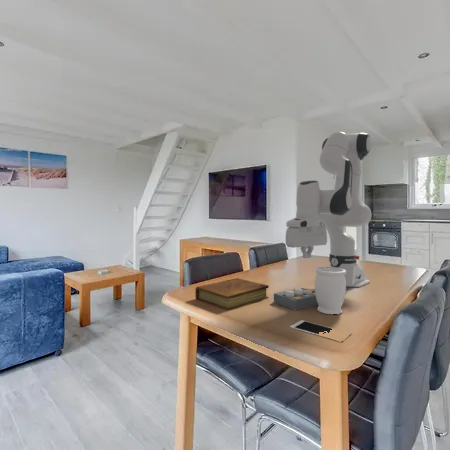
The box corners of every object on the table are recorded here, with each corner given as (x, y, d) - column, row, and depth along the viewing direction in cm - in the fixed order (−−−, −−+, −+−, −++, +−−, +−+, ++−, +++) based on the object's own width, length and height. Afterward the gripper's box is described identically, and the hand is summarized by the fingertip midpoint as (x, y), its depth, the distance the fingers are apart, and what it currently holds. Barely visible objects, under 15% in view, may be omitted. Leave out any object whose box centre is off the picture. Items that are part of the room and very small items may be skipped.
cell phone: (341, 344, 82) (341, 342, 82) (289, 328, 93) (289, 326, 93) (352, 335, 88) (352, 333, 88) (301, 321, 99) (301, 319, 99)
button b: (307, 297, 123) (307, 289, 122) (313, 298, 120) (313, 291, 120) (301, 298, 121) (301, 290, 121) (308, 300, 118) (308, 292, 118)
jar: (309, 306, 113) (310, 266, 112) (336, 306, 114) (337, 266, 113) (321, 316, 102) (322, 272, 101) (350, 316, 103) (352, 272, 102)
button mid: (298, 295, 120) (298, 288, 120) (305, 297, 117) (305, 289, 117) (292, 296, 118) (293, 289, 118) (299, 298, 115) (299, 291, 115)
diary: (235, 290, 137) (235, 277, 137) (268, 299, 124) (268, 285, 124) (195, 300, 121) (195, 285, 121) (227, 311, 108) (228, 295, 108)
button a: (289, 297, 117) (289, 289, 117) (295, 299, 114) (296, 291, 114) (283, 298, 115) (283, 291, 115) (289, 301, 112) (289, 293, 112)
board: (302, 296, 127) (302, 287, 126) (324, 302, 117) (324, 293, 117) (273, 302, 118) (273, 292, 118) (294, 310, 109) (295, 300, 108)
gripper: (318, 221, 127) (317, 254, 127) (283, 222, 115) (282, 258, 116) (331, 222, 121) (330, 256, 122) (295, 223, 110) (294, 260, 111)
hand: (306, 257), depth 119 cm, fingers closed
